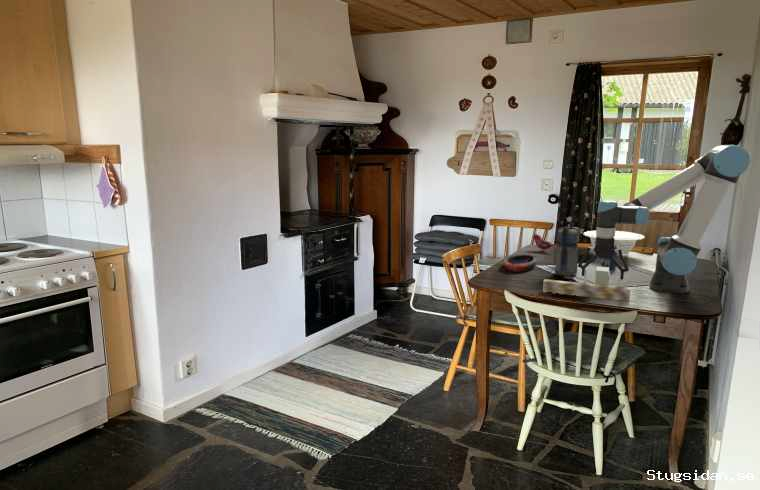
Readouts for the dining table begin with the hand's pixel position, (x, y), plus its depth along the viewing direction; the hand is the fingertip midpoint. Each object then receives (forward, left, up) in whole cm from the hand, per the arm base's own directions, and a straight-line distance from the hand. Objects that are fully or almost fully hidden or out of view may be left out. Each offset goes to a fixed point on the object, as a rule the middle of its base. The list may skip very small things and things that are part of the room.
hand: (601, 285), depth 228 cm
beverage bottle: (+17, -24, -3) cm, 30 cm away
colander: (-3, -76, -3) cm, 76 cm away
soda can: (-2, -46, -3) cm, 46 cm away
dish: (+40, -31, -3) cm, 51 cm away
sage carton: (0, 0, -3) cm, 3 cm away
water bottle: (+18, -50, -3) cm, 53 cm away
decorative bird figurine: (+33, -75, -3) cm, 82 cm away
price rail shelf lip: (+6, +10, -3) cm, 12 cm away
